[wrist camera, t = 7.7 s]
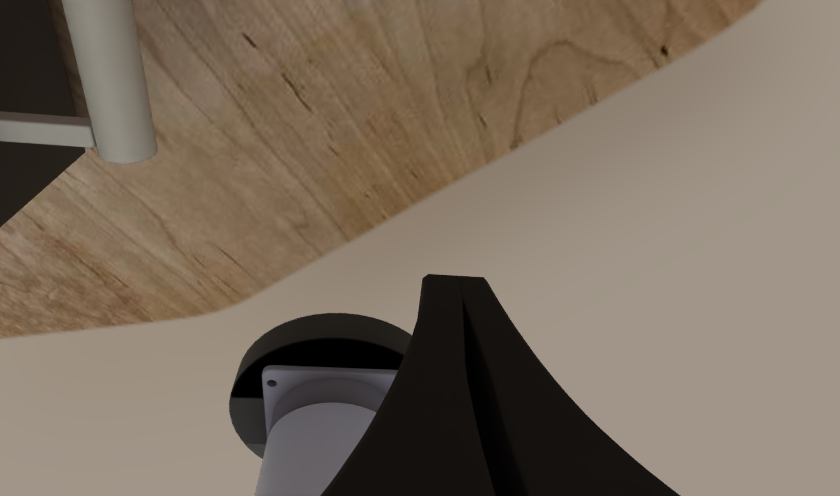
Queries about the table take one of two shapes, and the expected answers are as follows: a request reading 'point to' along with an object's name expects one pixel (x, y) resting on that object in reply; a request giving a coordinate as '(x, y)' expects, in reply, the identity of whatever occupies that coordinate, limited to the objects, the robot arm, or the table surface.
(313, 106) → the table surface
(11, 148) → the drawer
